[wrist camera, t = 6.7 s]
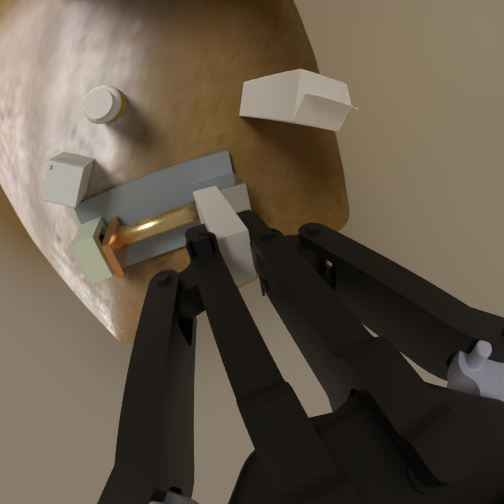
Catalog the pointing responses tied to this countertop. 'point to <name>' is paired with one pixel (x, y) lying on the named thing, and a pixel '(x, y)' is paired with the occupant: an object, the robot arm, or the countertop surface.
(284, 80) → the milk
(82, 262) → the socket
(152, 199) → the board
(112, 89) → the supplement bottle
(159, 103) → the countertop surface
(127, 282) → the countertop surface
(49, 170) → the product box
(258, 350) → the robot arm
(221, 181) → the grey cube end cap
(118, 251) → the tube
